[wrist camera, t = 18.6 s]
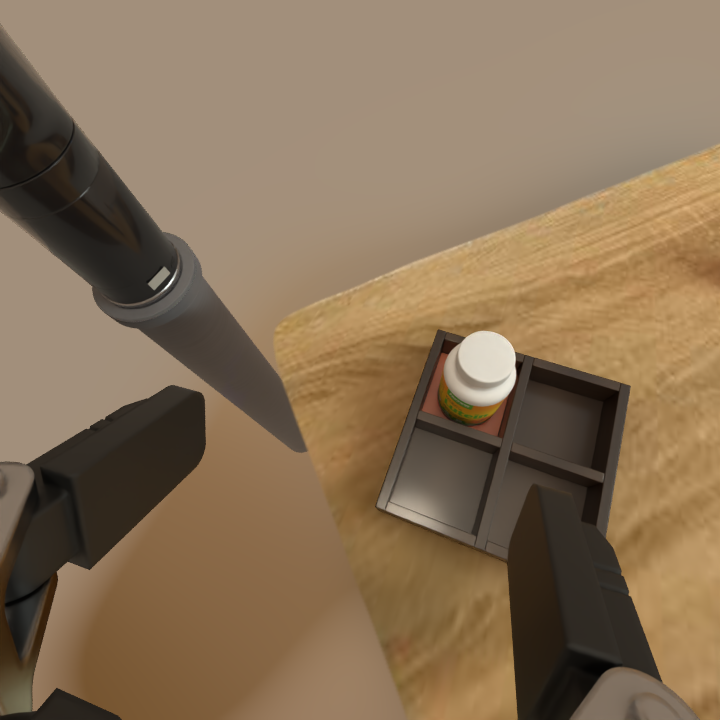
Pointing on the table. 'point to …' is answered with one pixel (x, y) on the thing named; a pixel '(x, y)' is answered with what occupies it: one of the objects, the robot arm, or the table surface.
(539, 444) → the grid
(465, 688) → the table surface
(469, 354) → the supplement bottle
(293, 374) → the table surface
